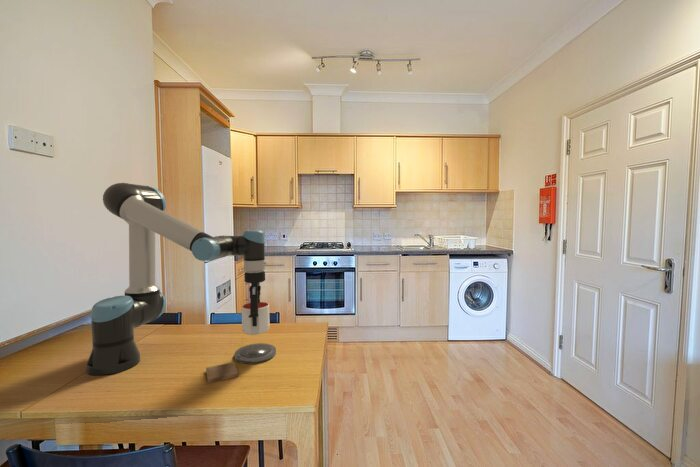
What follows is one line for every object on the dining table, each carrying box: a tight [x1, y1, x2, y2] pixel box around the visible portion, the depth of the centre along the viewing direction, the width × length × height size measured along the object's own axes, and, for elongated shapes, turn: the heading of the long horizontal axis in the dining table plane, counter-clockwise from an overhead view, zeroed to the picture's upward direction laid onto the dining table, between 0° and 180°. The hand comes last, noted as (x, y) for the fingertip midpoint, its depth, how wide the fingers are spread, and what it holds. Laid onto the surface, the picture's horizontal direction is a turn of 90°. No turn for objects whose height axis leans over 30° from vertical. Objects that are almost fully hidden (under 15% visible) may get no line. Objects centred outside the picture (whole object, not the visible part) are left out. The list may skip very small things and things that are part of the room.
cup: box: [241, 301, 271, 336], centre depth 119 cm, size 10×10×10 cm
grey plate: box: [234, 342, 277, 365], centre depth 120 cm, size 15×15×2 cm
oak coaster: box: [205, 362, 239, 384], centre depth 105 cm, size 9×9×1 cm
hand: (256, 329), depth 119 cm, fingers closed on cup, 10 cm apart
